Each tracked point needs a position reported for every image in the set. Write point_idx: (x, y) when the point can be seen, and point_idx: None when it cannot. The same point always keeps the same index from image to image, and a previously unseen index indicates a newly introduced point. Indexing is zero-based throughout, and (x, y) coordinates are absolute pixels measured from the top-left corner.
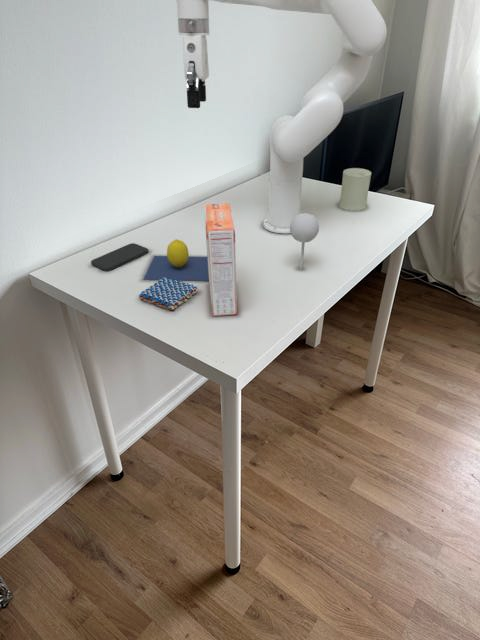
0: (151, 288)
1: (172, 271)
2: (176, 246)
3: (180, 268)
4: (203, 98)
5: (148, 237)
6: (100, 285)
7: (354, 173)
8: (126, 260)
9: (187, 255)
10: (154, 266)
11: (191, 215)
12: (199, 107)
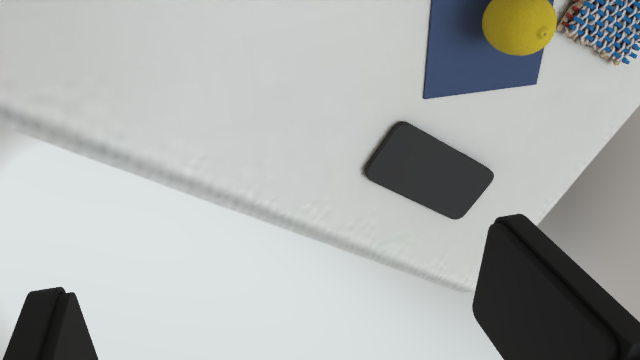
0: (617, 45)
1: None
2: (555, 26)
3: None
4: (74, 329)
5: (307, 153)
6: (541, 160)
7: None
8: (458, 152)
9: None
10: (480, 79)
11: (98, 76)
12: (519, 215)
